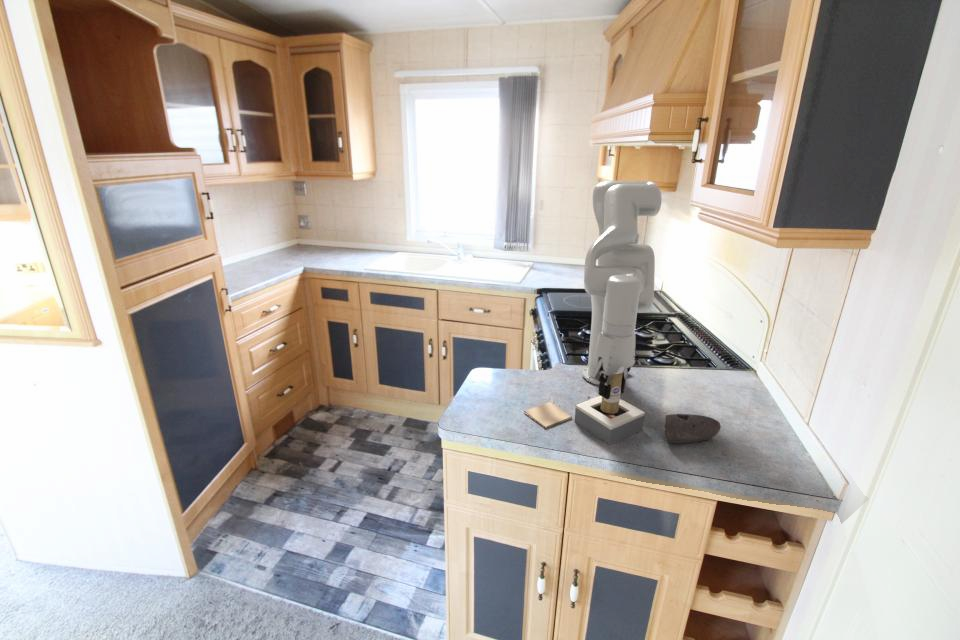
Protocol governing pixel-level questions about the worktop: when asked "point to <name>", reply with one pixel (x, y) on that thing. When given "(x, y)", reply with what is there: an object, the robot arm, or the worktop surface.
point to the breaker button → (609, 416)
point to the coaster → (548, 414)
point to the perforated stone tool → (690, 428)
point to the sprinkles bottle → (613, 393)
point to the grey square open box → (609, 420)
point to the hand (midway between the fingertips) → (611, 393)
